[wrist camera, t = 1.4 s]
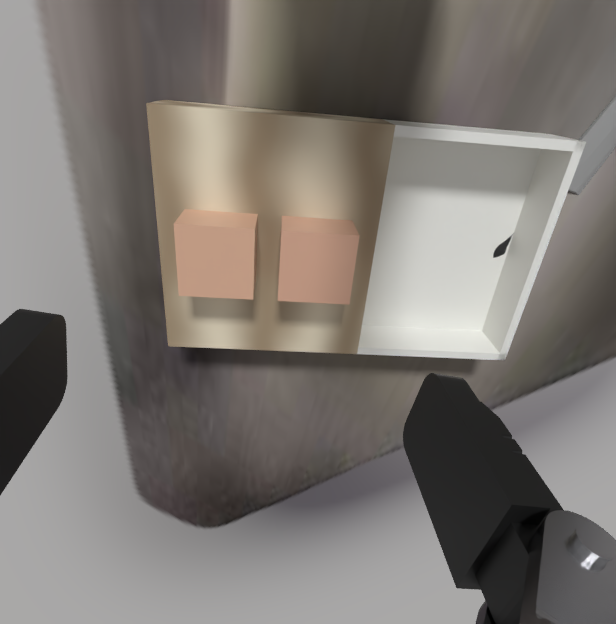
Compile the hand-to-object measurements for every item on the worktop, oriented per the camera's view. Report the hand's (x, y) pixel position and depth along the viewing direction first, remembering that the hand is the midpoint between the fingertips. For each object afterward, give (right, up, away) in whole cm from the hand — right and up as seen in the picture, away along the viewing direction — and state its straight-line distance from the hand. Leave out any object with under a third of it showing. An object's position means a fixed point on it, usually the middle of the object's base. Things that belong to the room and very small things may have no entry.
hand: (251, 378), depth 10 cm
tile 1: (-4, +6, +18) cm, 19 cm away
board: (-2, +8, +22) cm, 23 cm away
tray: (+11, +7, +23) cm, 26 cm away
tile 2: (+2, +6, +18) cm, 19 cm away
